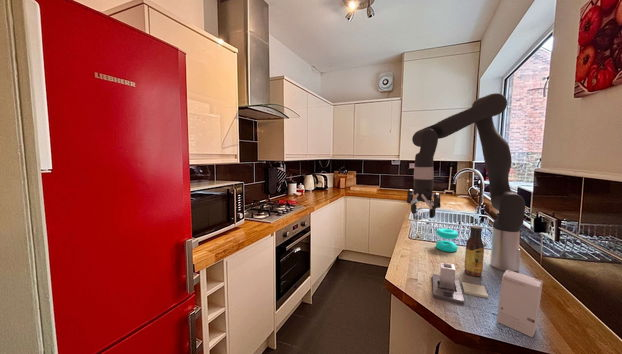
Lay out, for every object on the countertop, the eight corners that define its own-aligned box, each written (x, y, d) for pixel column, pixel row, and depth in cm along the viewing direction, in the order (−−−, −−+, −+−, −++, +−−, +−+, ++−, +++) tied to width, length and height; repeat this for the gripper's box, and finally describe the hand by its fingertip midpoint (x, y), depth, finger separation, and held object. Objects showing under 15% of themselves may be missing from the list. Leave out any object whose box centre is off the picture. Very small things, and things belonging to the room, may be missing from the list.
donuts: (432, 228, 128) (446, 226, 131) (431, 246, 129) (445, 244, 132) (448, 234, 118) (463, 232, 122) (447, 254, 119) (462, 251, 122)
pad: (483, 288, 89) (483, 286, 89) (488, 298, 82) (488, 296, 82) (461, 283, 92) (461, 281, 92) (464, 293, 85) (464, 291, 85)
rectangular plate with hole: (458, 281, 93) (458, 278, 93) (464, 304, 79) (464, 300, 79) (432, 276, 97) (432, 273, 97) (433, 297, 83) (433, 294, 83)
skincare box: (496, 322, 71) (499, 274, 69) (502, 313, 74) (505, 268, 73) (535, 339, 64) (539, 286, 63) (539, 329, 68) (543, 279, 66)
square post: (453, 287, 89) (454, 264, 88) (454, 293, 85) (455, 269, 84) (439, 284, 91) (440, 261, 90) (440, 291, 87) (441, 266, 86)
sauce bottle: (476, 278, 95) (479, 230, 94) (460, 272, 101) (463, 226, 99) (485, 274, 98) (488, 227, 97) (469, 268, 104) (472, 224, 102)
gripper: (445, 178, 95) (443, 218, 97) (414, 176, 108) (414, 211, 109) (433, 179, 92) (432, 220, 93) (403, 176, 104) (402, 213, 106)
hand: (422, 215), depth 101 cm, fingers open, 8 cm apart
